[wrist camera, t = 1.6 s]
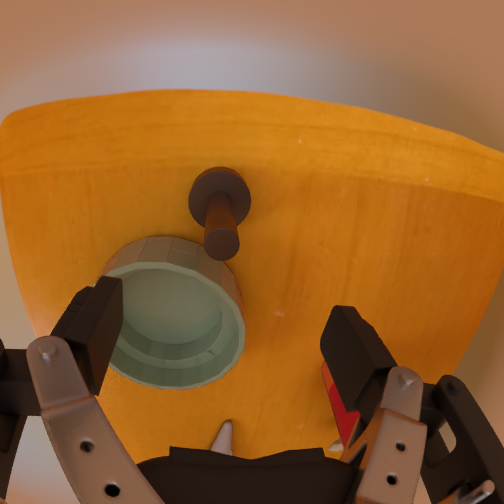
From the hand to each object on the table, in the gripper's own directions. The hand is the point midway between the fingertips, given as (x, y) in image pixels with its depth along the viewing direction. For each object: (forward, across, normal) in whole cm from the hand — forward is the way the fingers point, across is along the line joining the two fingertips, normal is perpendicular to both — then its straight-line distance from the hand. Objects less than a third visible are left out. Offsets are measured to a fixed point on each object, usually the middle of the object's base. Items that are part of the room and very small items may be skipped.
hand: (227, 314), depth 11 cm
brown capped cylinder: (+18, 0, 0) cm, 18 cm away
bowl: (+18, +4, +12) cm, 22 cm away
